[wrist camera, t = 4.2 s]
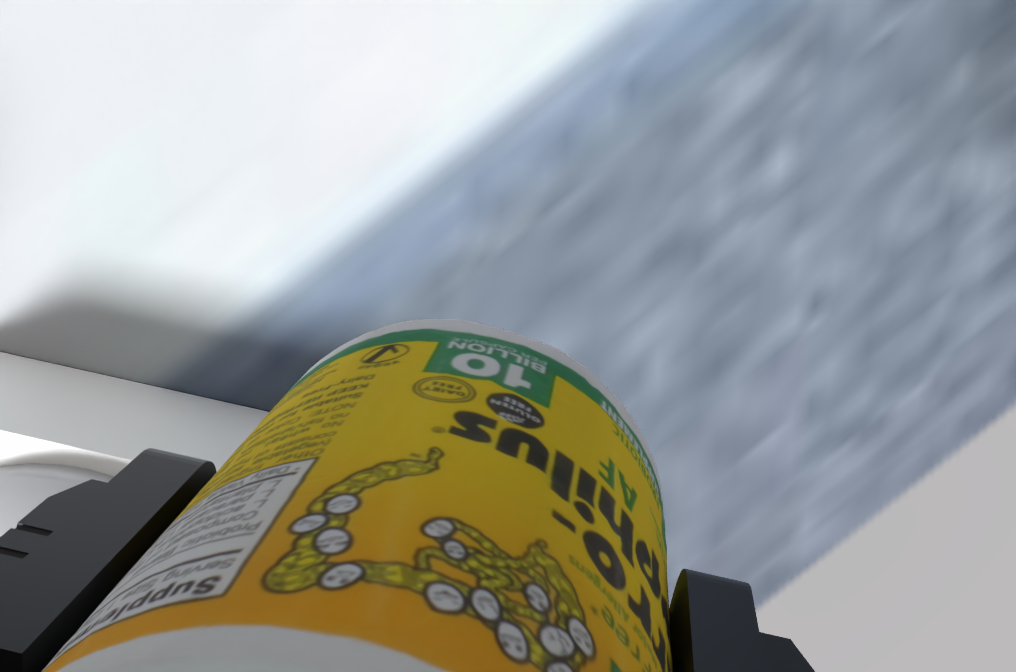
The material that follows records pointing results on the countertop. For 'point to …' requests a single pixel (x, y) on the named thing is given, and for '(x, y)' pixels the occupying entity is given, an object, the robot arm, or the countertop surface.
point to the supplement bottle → (410, 526)
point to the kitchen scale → (97, 429)
